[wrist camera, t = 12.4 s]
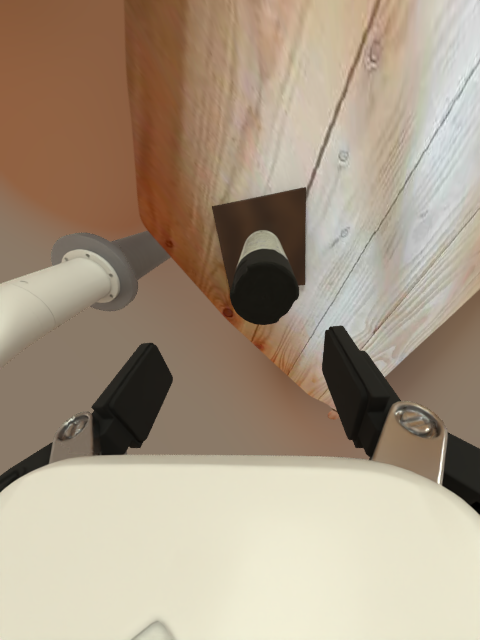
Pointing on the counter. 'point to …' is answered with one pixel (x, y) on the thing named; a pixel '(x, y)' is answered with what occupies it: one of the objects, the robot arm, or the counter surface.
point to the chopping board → (264, 227)
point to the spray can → (263, 280)
